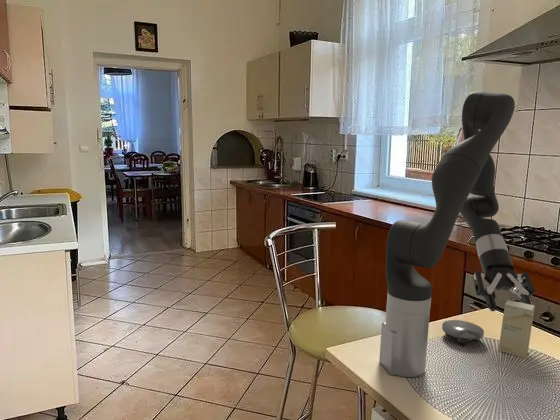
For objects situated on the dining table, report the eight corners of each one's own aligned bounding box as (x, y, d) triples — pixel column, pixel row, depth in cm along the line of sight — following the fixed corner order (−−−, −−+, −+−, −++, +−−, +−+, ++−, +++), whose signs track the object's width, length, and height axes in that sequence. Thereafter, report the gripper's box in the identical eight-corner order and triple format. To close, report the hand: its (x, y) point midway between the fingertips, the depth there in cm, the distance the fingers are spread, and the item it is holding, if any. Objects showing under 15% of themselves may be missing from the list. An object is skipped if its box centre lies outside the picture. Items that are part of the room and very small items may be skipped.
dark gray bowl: (455, 348, 108) (456, 337, 107) (434, 331, 117) (435, 320, 117) (491, 346, 109) (492, 335, 109) (467, 329, 119) (468, 319, 119)
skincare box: (498, 351, 107) (503, 304, 105) (501, 344, 111) (506, 298, 109) (527, 358, 103) (533, 310, 102) (529, 351, 107) (535, 304, 105)
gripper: (472, 246, 115) (488, 303, 106) (526, 248, 115) (547, 305, 106) (462, 260, 121) (477, 315, 112) (513, 262, 121) (532, 317, 112)
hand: (511, 310), depth 109 cm, fingers open, 8 cm apart
